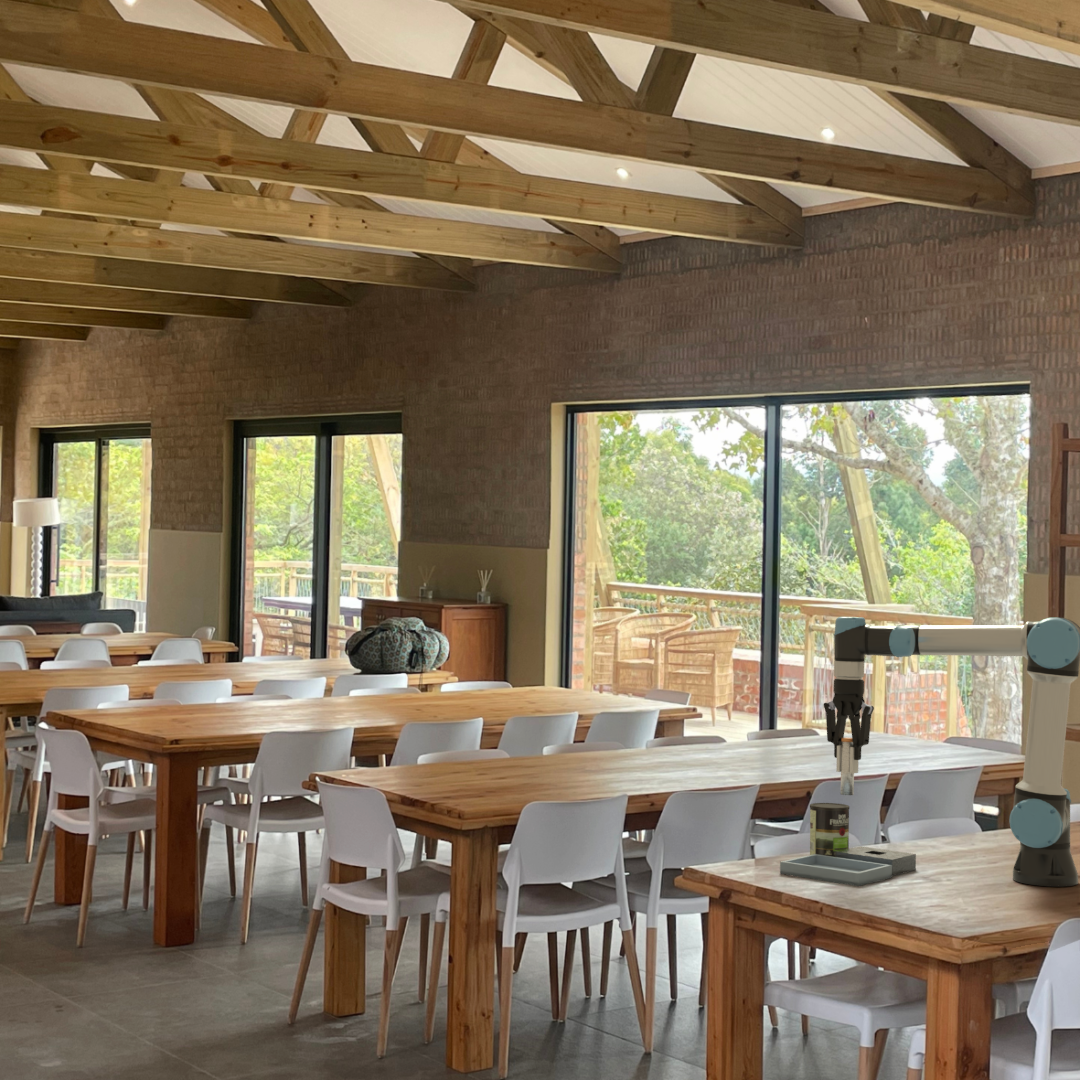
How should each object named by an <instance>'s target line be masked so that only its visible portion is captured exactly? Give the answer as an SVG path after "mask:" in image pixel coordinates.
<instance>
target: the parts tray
mask: <svg viewBox="0 0 1080 1080" xmlns="http://www.w3.org/2000/svg"><path fill="white" fill-rule="evenodd" d="M780 873H781V874H780ZM779 874H780V875H784V874H787V875H786V876H791V875H793V876H792V877H797V876H798V877H799V878H804V879H811V880H816V881H824V882H829V883H834V884H835V883H836V884H842V885H849V886H854V887H855V886H856V887H861V886H865V885H868V884H872V883H876V882H880V881H884V880H887V879H891V878H892V877H893V876H892V865H887V864H880V863H873V862H866V861H859V860H852V859H845V858H838V857H831V856H824V855H818V854H813V855H810V854H808V855H805V856H799V857H795V858H790V859H786V860H782V861H780V862H779Z"/></svg>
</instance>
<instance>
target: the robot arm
mask: <svg viewBox="0 0 1080 1080" xmlns="http://www.w3.org/2000/svg"><path fill="white" fill-rule="evenodd" d="M833 636H834V637H833V638H834V639H833V640H834V642H833V643H834V645H833V647H834V649H833V651H834V658H833V659H834V660H833V677H834V679H833V693H834V696H833V698H832V700H831V701H828V702H824V703H823V708H824V711H825V720H826V722H825V723H826V740H827V742H829V743H831V744H833V746H834V747H833V748H834V750H833V751H834V753H833V756H834V757H833V758H835V759H836V772H837V773H841V741H842V738H845V731H846V730H845V729H846V724H847V719H848V720H849V722H850V731H851V738H852V740H853V745H852V747H850V773H852V774H853V773H854V774H858V773H859V761H860V760H861V759H862V747H864V746H866V745H869V742H870V733H871V721H872V714H873V711H874V710H875V707H874V706H873V705H869V704H867V703H866V701H865V699H864V694H865V681H864V679H863V678H865V660H866V659H865V656H878V657H896V658H902V657H904V658H905V657H911V656H913V655H914V656H968V657H969V656H978V657H979V656H981V657H989V656H990V657H1023V658H1025V660H1026V661H1027V664H1026V665H1027V666H1026V673H1027V675H1028V676H1030V678H1031V680H1032V683H1031V693H1030V703H1029V712H1028V723H1027V735H1026V745H1025V753H1024V763H1023V765H1024V766H1023V775H1022V779H1021V781H1019V782H1018V783H1017V784H1016V785H1015V787H1014V788H1015V790H1014V797H1013V806H1012V807H1013V808H1012V810H1011V811H1010V814H1009V827H1010V830H1011V832H1012V834H1013V836H1014V837H1015V838H1016V840H1018V841H1019V842H1020V844H1019V845H1020V846H1019V847H1020V848H1019V851H1018V854H1017V857H1016V860H1015V862H1014V866H1013V868H1012V880H1013V881H1015V882H1016V883H1017V882H1018V883H1021V884H1025V885H1031V886H1041V887H1053V888H1054V887H1057V888H1058V887H1063V888H1064V887H1072V886H1076V885H1078V884H1079V875H1078V874H1079V873H1078V870H1077V868H1076V864H1075V862H1074V858H1073V854H1072V853H1071V803H1072V799H1071V793H1070V790H1068V789H1067V788H1064V787H1063V786H1062V776H1063V766H1064V765H1063V764H1064V756H1065V755H1064V754H1065V746H1066V734H1067V725H1068V724H1067V723H1068V717H1069V716H1068V714H1069V705H1070V695H1071V694H1070V693H1071V686H1072V685H1071V684H1072V683H1073V682H1075V681H1076V680H1077V679H1078V678H1079V674H1080V672H1079V671H1080V626H1079V625H1078V623H1076V622H1074V621H1073V620H1071V619H1069V618H1065V617H1046V618H1044V619H1041V620H1040V621H1039V620H1038V621H1026V622H1025V623H1024V624H1023V625H908V624H898V625H871V624H870V625H869V624H867V623H866V618H865V617H862V616H861V617H860V616H859V617H857V616H839V617H837V618H836V620H835V623H834V634H833ZM861 712H862V713H861ZM860 713H861V714H860ZM860 720H861V721H860Z"/></svg>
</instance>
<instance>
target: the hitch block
mask: <svg viewBox="0 0 1080 1080" xmlns="http://www.w3.org/2000/svg"><path fill="white" fill-rule="evenodd" d="M836 857H838V858H845V859H852V860H859V861H866V862H873V863H880V864H887V865H892V877H893V876H897V875H902V874H905V873H909V872H913V871H916V870H917V868H916V867H917V865H916V864H917V863H916V862H917V855H916V853H913V852H912V853H911V852H903V851H896V850H889V849H884V848H883V849H881V848H875V847H867V846H860V845H859V846H855V847H850V848H849V849H846V850H841V851H837V852H836Z"/></svg>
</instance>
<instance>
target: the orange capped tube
mask: <svg viewBox="0 0 1080 1080" xmlns="http://www.w3.org/2000/svg"><path fill="white" fill-rule="evenodd" d="M852 745H853V740H852V737H844V738H842V741H841V772H840V795H843V796H854V792H855V791H854V789H855V788H854V787H855V786H854V785H855V783H854V782H855V773H853V774H852V773H850V747H852Z"/></svg>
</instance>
